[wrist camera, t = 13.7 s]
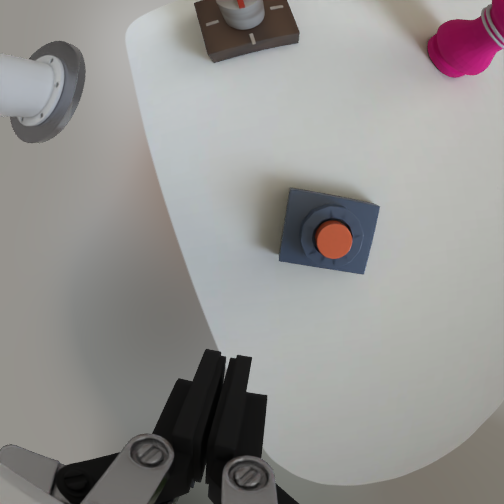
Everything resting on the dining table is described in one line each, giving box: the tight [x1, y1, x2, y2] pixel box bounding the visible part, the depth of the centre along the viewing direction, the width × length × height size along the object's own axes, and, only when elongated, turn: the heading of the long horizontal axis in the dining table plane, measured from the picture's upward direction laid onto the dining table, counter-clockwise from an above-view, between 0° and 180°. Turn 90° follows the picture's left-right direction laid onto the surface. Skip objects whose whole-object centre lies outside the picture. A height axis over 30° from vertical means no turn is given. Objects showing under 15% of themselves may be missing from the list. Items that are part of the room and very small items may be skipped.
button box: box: [279, 188, 380, 274], centre depth 31 cm, size 10×8×4 cm
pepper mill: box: [427, 0, 504, 78], centre depth 15 cm, size 7×7×20 cm
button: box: [315, 220, 352, 259], centre depth 29 cm, size 4×4×2 cm
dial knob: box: [216, 0, 265, 30], centre depth 21 cm, size 4×4×5 cm
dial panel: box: [194, 0, 299, 63], centre depth 25 cm, size 10×9×3 cm
